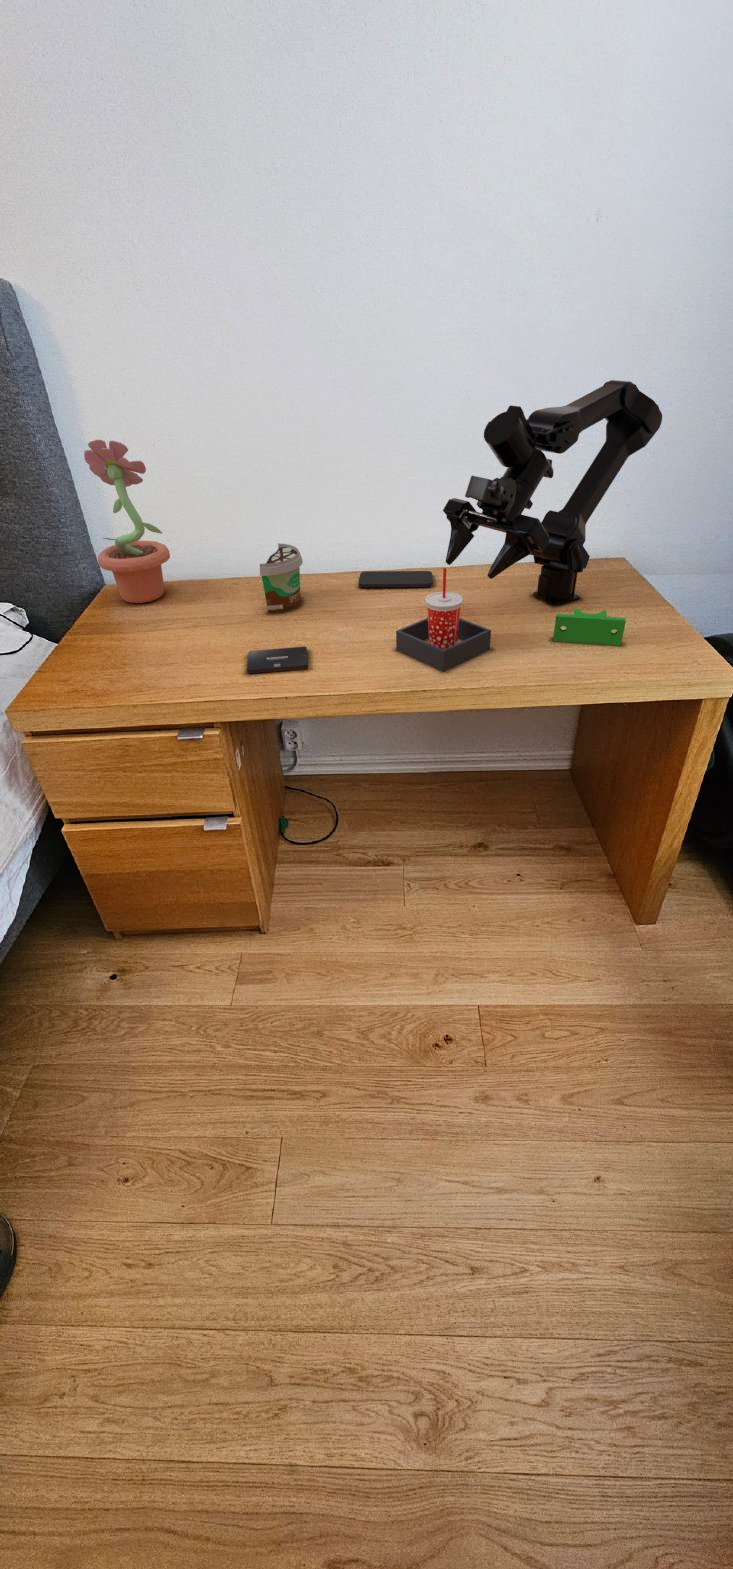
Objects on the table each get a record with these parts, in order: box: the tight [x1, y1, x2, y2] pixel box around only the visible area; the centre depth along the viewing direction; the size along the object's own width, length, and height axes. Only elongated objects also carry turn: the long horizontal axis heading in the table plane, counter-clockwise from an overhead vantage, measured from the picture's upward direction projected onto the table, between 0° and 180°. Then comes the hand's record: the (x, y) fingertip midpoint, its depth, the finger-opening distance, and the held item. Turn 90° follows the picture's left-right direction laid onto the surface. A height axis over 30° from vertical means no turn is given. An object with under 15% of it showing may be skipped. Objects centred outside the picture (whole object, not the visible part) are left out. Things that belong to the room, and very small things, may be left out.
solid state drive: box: [246, 645, 309, 674], centre depth 117 cm, size 7×10×1 cm
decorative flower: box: [83, 439, 171, 604], centre depth 134 cm, size 15×14×30 cm
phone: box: [358, 570, 433, 588], centre depth 143 cm, size 7×1×15 cm
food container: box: [259, 543, 304, 614], centre depth 134 cm, size 12×6×10 cm, turn 168°
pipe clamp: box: [552, 608, 627, 646], centre depth 118 cm, size 11×4×5 cm, turn 76°
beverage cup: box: [424, 567, 464, 650], centre depth 114 cm, size 6×6×14 cm
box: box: [395, 617, 492, 672], centre depth 117 cm, size 11×11×4 cm
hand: (467, 570), depth 114 cm, fingers open, 9 cm apart
